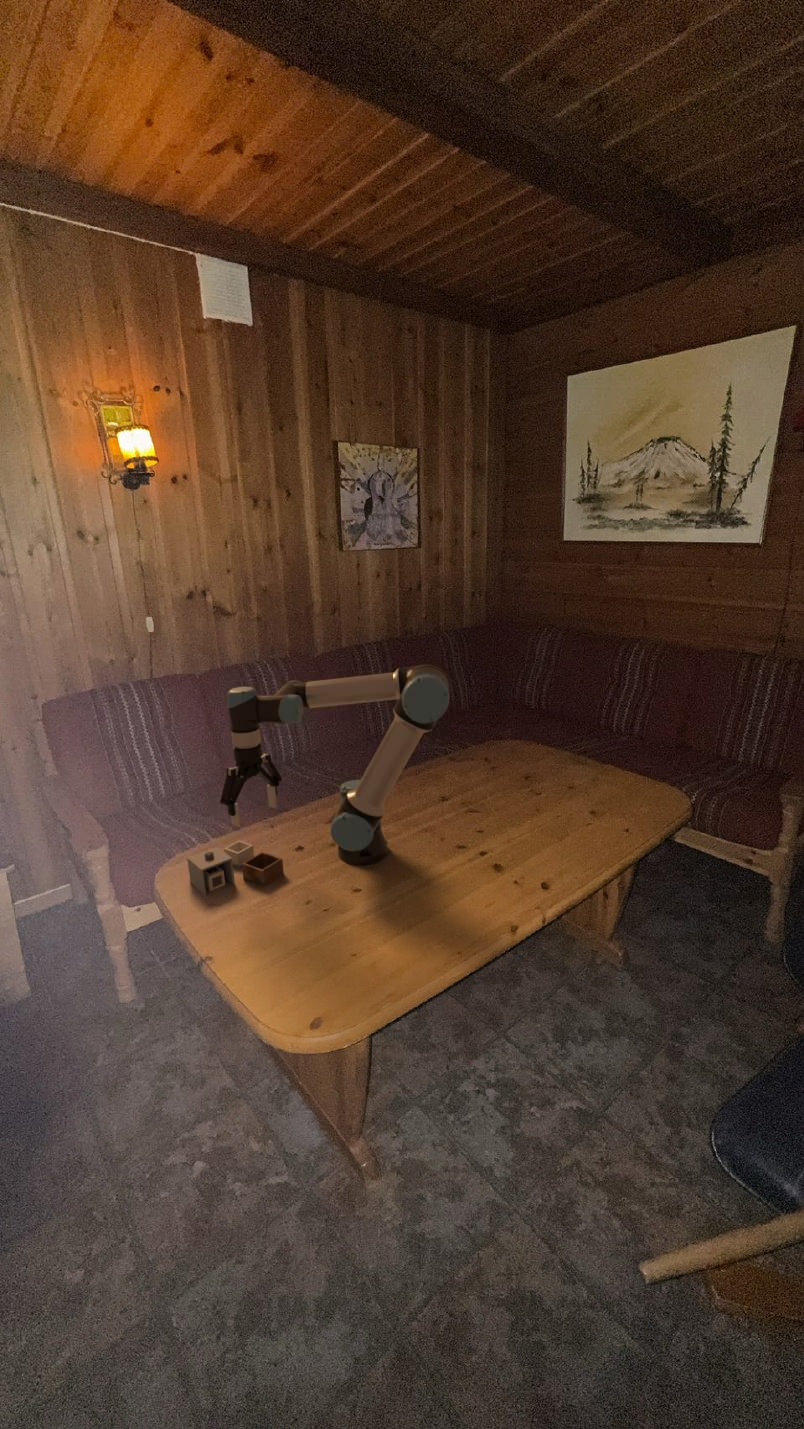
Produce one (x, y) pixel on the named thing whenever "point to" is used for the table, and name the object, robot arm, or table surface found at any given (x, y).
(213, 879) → the cream boxy hollow piece
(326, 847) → the table surface
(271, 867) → the walnut bin
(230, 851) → the beige tub
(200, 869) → the cover
